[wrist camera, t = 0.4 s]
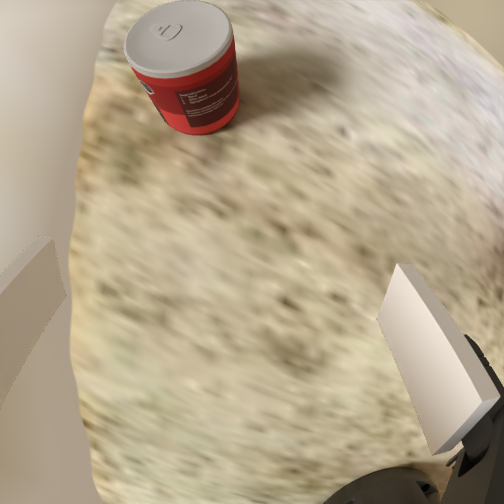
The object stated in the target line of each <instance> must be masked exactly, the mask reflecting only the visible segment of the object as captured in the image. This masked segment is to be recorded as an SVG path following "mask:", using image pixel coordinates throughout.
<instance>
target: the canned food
mask: <svg viewBox="0 0 504 504" xmlns="http://www.w3.org/2000/svg"><path fill="white" fill-rule="evenodd" d="M124 52H125V55H126V57H127V61H128V62H129V64H130V66H131V68H132V70H133V71H134V73H135V74H136V76H137V78H138V79H139V81H140V82H141V84H142V86H143V87H144V89H145V91H146V92H147V94H148V95H149V97H150V99H151V100H152V102H153V103H154V105H155V107H156V108H157V110H158V111H159V113H160V115H161V116H162V118H163V119H164V121H165V122H166V123H167V124H168V125H169V126H170V127H172V128H173V129H175V130H177V131H179V132H182V133H185V134H189V135H205V134H210V133H213V132H215V131H217V130H219V129H221V128H223V127H224V126H225V125H226V124H228V123H229V122H230V120H231V119H232V118H233V116H234V115H235V113H236V111H237V109H238V106H239V102H240V93H239V82H238V72H237V62H236V52H235V41H234V35H233V29H232V25H231V22H230V19H229V17H228V16H227V14H226V13H225V12H224V11H223V10H222V9H221V8H219V7H217V6H215V5H214V4H211V3H208V2H204V1H199V0H181V1H175V2H170V3H166V4H164V5H161V6H158V7H156V8H154V9H152V10H150V11H149V12H147V13H146V14H144V15H143V16H141V17H140V18H139V19H138V20H137V21H136V22H135V23H134V24H133V25H132V27H131V28H130V29H129V31H128V33H127V35H126V37H125V41H124Z"/></svg>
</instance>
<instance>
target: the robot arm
mask: <svg viewBox="0 0 504 504" xmlns="http://www.w3.org/2000/svg"><path fill="white" fill-rule="evenodd" d="M65 297H66V292H65V289H64V284H63V281H62V276H61V272H60V268H59V263H58V259H57V254H56V249H55V244H54V239H53V237H40V236H38V237H37V238H36V239H35V240H34V241H33V242H32V243H31V244H30V245H29V246H28V247H27V248H26V249H25V250H24V251H23V252H22V253H21V254H20V255H19V256H18V257H17V258H16V259H15V260H14V261H13V262H12V263H11V264H10V265H9V266H8V267H7V268H6V269H5V270H4V271H3V272H2V273H1V274H0V408H1V406H2V404H3V402H4V400H5V398H6V396H7V394H8V392H9V390H10V388H11V386H12V385H13V382H14V381H15V379H16V377H17V375H18V374H19V372H20V370H21V368H22V366H23V365H24V363H25V361H26V359H27V357H28V356H29V354H30V353H31V351H32V349H33V347H34V346H35V344H36V342H37V341H38V339H39V337H40V335H41V334H42V333H43V331H44V329H45V328H46V326H47V325H48V323H49V321H50V320H51V318H52V317H53V315H54V314H55V312H56V311H57V309H58V308H59V306H60V305H61V303H62V302H63V300H64V299H65ZM376 320H377V322H378V324H379V326H380V328H381V330H382V333H383V335H384V337H385V339H386V342H387V344H388V346H389V348H390V351H391V353H392V355H393V357H394V360H395V362H396V364H397V367H398V369H399V371H400V374H401V376H402V379H403V381H404V383H405V386H406V388H407V391H408V393H409V396H410V398H411V401H412V403H413V406H414V408H415V411H416V413H417V416H418V419H419V421H420V424H421V427H422V429H423V432H424V435H425V437H426V440H427V443H428V446H429V449H430V451H431V454H432V455H436V454H440V453H443V452H447V451H450V450H452V449H453V448H454V447H455V446H456V445H457V444H458V443H459V442H460V441H462V443H463V446H464V447H463V448H462V449H461V450H460V451H459V452H458V453H457V454H456V455H455V456H454V457H452V458H451V459H450V460H449V461H448V463H447V465H446V466H448V467H449V466H450V465H451V464H452V463H453V462H454V461H456V463H455V466H453V467H452V468H453V472H452V475H451V477H450V480H449V483H448V485H447V488H446V490H445V493H444V495H443V498H442V500H441V499H440V495H439V491H438V489H437V487H436V486H435V484H434V483H433V482H432V481H431V480H430V479H429V477H428V476H427V475H426V474H424V473H423V472H421V471H419V470H416V469H411V468H393V469H387V470H382V471H379V472H375V473H372V474H369V475H367V476H364V477H362V478H360V479H358V480H356V481H354V482H352V483H350V484H348V485H346V486H345V487H343V488H342V489H340V490H339V491H337V492H336V493H335V494H333V495H332V496H331V497H330V498H329V499H328V500H327V501H326V502H325V503H324V504H504V387H503V385H502V384H501V382H500V380H499V378H498V377H497V375H496V373H495V372H494V370H493V369H492V367H491V366H489V362H488V360H487V359H486V357H484V354H483V353H482V351H481V349H480V348H479V346H478V345H477V344H476V343H475V342H474V341H473V340H472V339H471V338H470V337H469V336H468V335H463V333H462V332H461V330H460V329H459V327H458V326H457V324H456V323H455V321H454V320H453V318H452V317H451V315H450V314H449V313H448V311H447V310H446V308H445V307H444V305H443V304H442V303H441V301H440V300H439V298H438V297H437V296H436V294H435V293H434V291H433V290H432V289H431V287H430V286H429V285H428V283H427V282H426V281H425V279H424V278H423V277H422V275H421V274H420V273H419V271H418V270H417V269H416V267H415V266H414V265H413V264H404V263H397V264H396V267H395V270H394V273H393V275H392V278H391V281H390V284H389V287H388V289H387V292H386V295H385V298H384V300H383V303H382V306H381V308H380V311H379V313H378V316H377V318H376Z"/></svg>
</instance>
